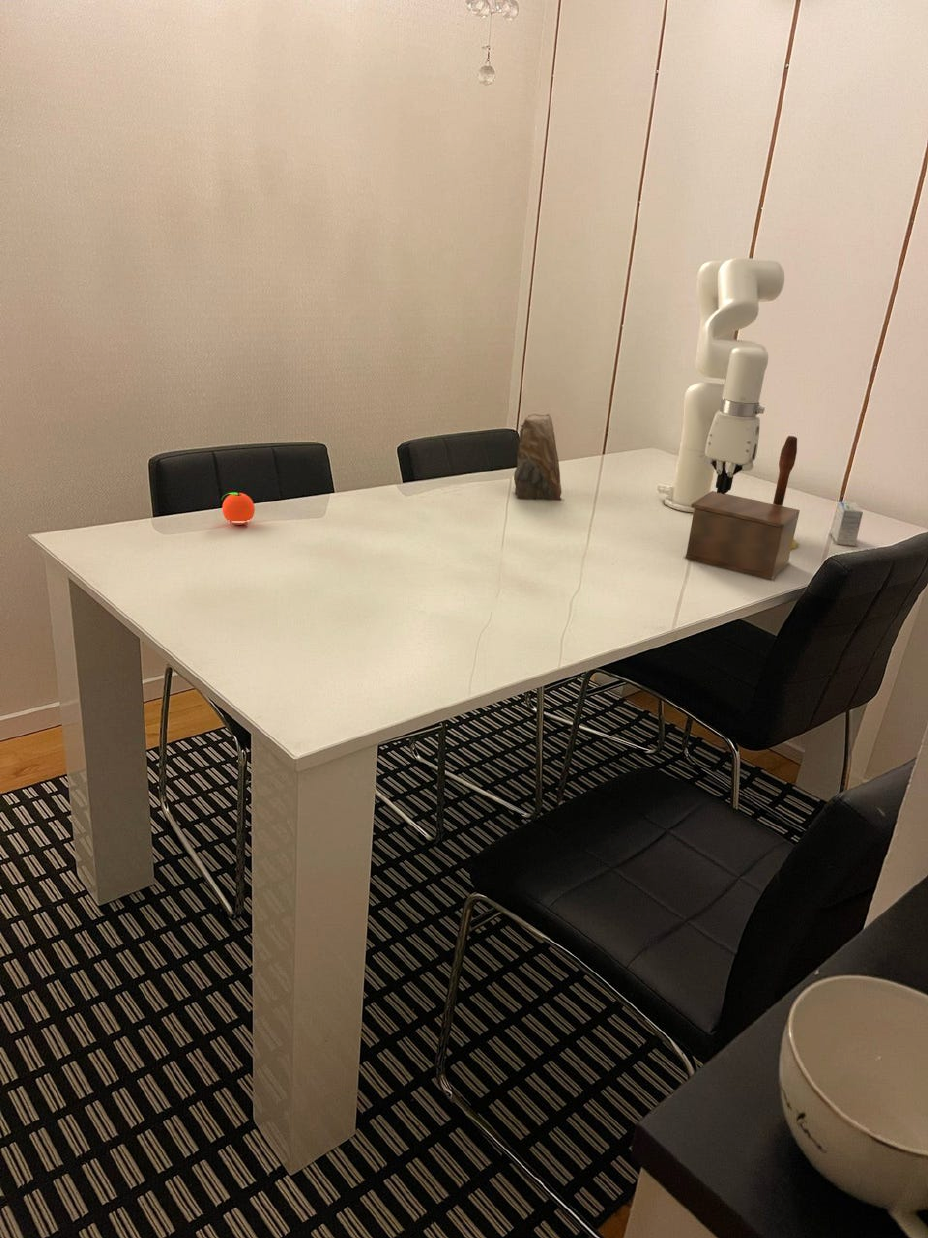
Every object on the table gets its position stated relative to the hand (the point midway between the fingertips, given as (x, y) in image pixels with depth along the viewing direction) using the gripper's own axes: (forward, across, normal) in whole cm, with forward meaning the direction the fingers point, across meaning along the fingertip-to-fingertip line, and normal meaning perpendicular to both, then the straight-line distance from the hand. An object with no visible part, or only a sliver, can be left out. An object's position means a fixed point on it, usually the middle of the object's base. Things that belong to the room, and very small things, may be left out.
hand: (722, 492), depth 205 cm
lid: (+3, -6, 0) cm, 6 cm away
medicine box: (+15, -22, -34) cm, 43 cm away
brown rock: (+15, +51, -12) cm, 54 cm away
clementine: (+14, +89, +58) cm, 107 cm away
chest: (+14, -6, 0) cm, 16 cm away
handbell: (+15, -8, -20) cm, 26 cm away
